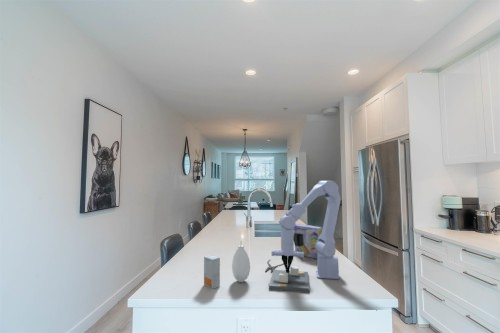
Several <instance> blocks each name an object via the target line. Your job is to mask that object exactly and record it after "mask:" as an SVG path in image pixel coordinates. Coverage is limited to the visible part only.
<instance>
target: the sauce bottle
mask: <svg viewBox="0 0 500 333" xmlns="http://www.w3.org/2000/svg"><path fill="white" fill-rule="evenodd" d="M231 269H232V274H233V275H232V276H233V278H235V280H236V281H237V282H239V283H244V282H245V281H246V280H247V279H248V278H249V275H250V272H251V262H250V257H249V254H248V252H247V250H246V248H245V246H244V245H242V242H240V244H239V245H238V246H237V249H236V250H235V252H234V254H233V258H232V263H231Z"/></svg>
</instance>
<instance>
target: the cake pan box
mask: <svg viewBox="0 0 500 333" xmlns="http://www.w3.org/2000/svg"><path fill="white" fill-rule="evenodd" d="M322 229H323V226H316V225H315V226H314V225H309V224H301V223H297V224H296V223H295V227H293V232H294V251H298V252H304V256H305V257H308V258H312V259H315V260H317V250H316V249H315V243H316V242H317V240H318V237H319V236H320V235H321V234H322Z"/></svg>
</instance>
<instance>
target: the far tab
mask: <svg viewBox="0 0 500 333" xmlns="http://www.w3.org/2000/svg"><path fill="white" fill-rule="evenodd" d="M290 271H291V275H296V276H299V266H296V265H294V266H292V265H291V266H290Z"/></svg>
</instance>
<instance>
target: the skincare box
mask: <svg viewBox="0 0 500 333" xmlns="http://www.w3.org/2000/svg"><path fill="white" fill-rule="evenodd" d="M203 285H204V286H205V287H208V288H209V289H211V290H214V289H216V288H219V287H220V286H221V258H220V257H219V256H216V255H212V254H210V255H205V256H204V257H203Z"/></svg>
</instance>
